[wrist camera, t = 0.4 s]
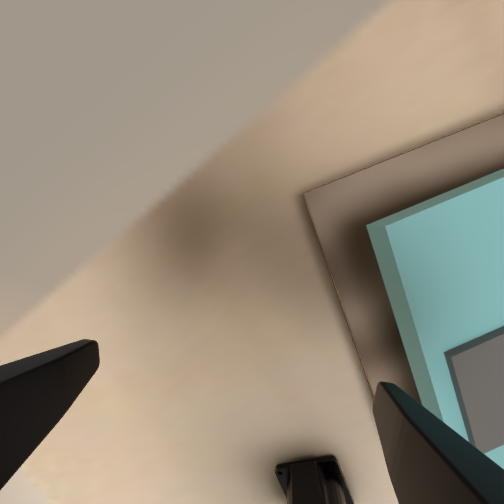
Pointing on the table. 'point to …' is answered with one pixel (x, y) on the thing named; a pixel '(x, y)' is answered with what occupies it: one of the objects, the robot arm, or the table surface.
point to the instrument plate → (452, 304)
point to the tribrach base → (378, 207)
